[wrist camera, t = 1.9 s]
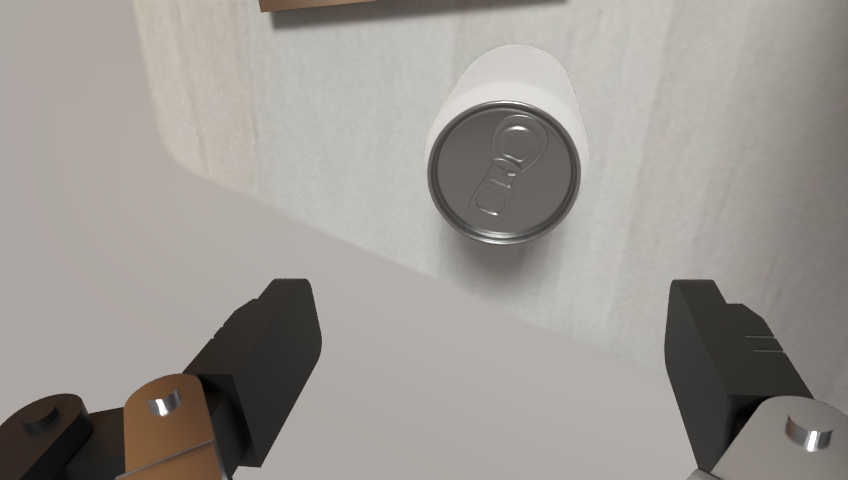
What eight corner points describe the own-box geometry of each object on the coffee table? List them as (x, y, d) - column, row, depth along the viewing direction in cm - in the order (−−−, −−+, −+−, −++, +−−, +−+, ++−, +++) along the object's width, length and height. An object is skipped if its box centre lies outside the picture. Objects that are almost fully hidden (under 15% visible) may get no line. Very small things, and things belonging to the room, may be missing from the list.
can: (595, 70, 30) (628, 131, 19) (541, 176, 33) (544, 280, 22) (482, 23, 30) (452, 58, 19) (438, 134, 33) (392, 217, 22)
